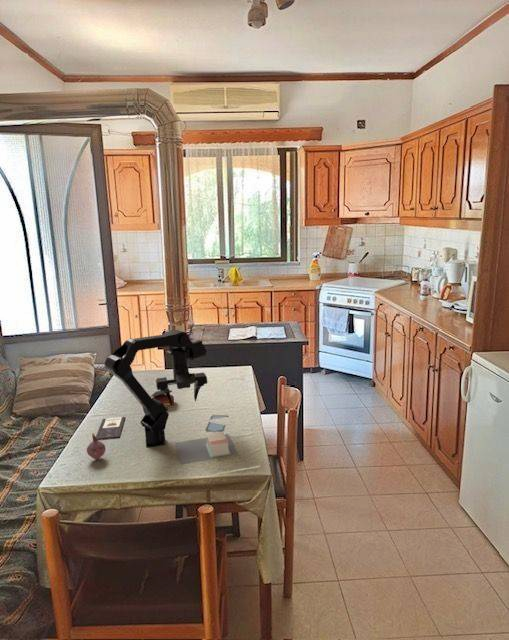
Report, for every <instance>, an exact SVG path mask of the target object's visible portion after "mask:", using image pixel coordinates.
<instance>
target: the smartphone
mask: <svg viewBox="0 0 509 640" xmlns="http://www.w3.org/2000/svg"><path fill="white" fill-rule="evenodd" d="M224 418H229V415H225V414H222V415H220V414H217V415H215V414H213V415H211V416H210V418H209V420H217V419H224ZM226 426H227V425H226V424H222V423H221V424H220V423H216V422H211V421H208V423H207V424H206V427H205V432H211V433H217V432H224V431H225V428H226Z"/></svg>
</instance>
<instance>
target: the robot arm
mask: <svg viewBox="0 0 509 640" xmlns="http://www.w3.org/2000/svg"><path fill="white" fill-rule="evenodd" d="M163 347H169V349H167V350H166V352H165V353H166V354H167V355H171V361H172V363H171V364H172V373H173V374H172V375H173V378H172V379H168V377H158V378H156V379H155V386H156V391H160V390H161V391H164V392H165V393H166V395H167V397H168V399H169V402H170V404H172V401H171V396H170V395H171V392H169V390H170V388H169V386H171V385H172V386H173V385H176V388H177V389H178V390H182V389H189V388H191V384H192V385H193V384H194V385H193V386H194V387H193V397H194V399H193V400H194V401H195V402H196V401H197V397H198V395H199V391H200V389H201V387H204V386H205V385H206V384H208V377H207V375H206V373H205V372H198V373H194V372H193V373H190V372H189V361H194V360H198V359H201V358H204V357H206V355H207V349H206V346H205V345H204V343H203V341H202V340H200V339H197V340H195V341H192V340H191V339H190V338H189V335H188V333H187V332H186V331H182V330H179V329H171V330H168V331H166V332H164V333H162V334H158V335H151V336H144V337H136V338H131V337H130V338H128V339H126V340H125V341H124V342H123V344H122V345H120V346H119V347H118V348H116V349H115V350H114V351H113V352H112V353H111V354H110V355H109V356H108V357H107V358H106V359H105V361H104V367H105V370H107V371H108V372H109V373H111V374H112V375H113V376H115V377H116V378H117V379H119V380H120V381H121V382H122V384H123V385H124V386H125V387H126V388H127V389H128V390H129V392H130V393H131V394H132V396H133V397H134V398H135V399H136V401H137V402H138V403H139V404H140V405H141V407H142V410H143V413H144V416H143V417H142V419H141V420H140V425H141V426H142V427H144V432H145V436H144V437H145V447H146V448H153V447H159V446H164V445H165V442H166V433H165V432H166V431H165V430H166V427H167V421H168V419H169V415H170V414H169V412H168V411H169V409H168V408H165V406H164V404H163V403H162V402H160V401H158V400H156V399H152V398H153V397H151V395H150V394H149V393H148V392H147V390H146V389H145V388H144V387H143V385H142V384H141V383H140V382H139V381H138V379H137V378H136V377H135V376H134V373H133V370H132V369H133V368H132V366H131V364H132V363H133V362H134V361H135V358H136V355H137V353H138V352H140V351H143V350H149V349H156V348H157V349H158V348H163ZM188 360H189V361H188Z"/></svg>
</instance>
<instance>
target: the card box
mask: <svg viewBox="0 0 509 640" xmlns="http://www.w3.org/2000/svg"><path fill="white" fill-rule="evenodd" d="M225 435H226V434H225V433H224V431H222V432H211V433H206V438H207V445H208V448H209V451H210V453H211V456H217V455H223V454H229V449H228V441H227V439H226V437H225Z"/></svg>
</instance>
